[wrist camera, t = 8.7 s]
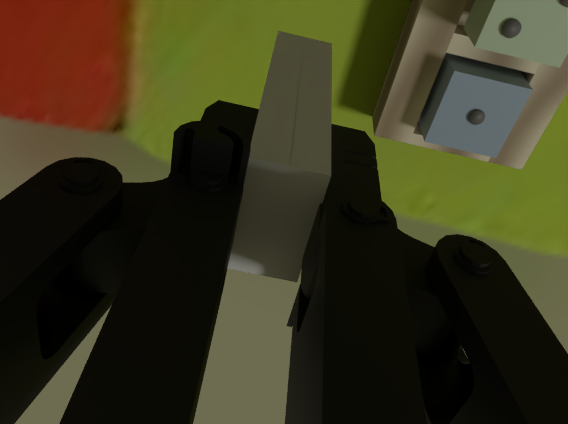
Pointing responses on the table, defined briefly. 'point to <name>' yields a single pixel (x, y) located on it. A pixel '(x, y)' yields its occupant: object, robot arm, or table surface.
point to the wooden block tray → (425, 65)
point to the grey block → (473, 105)
